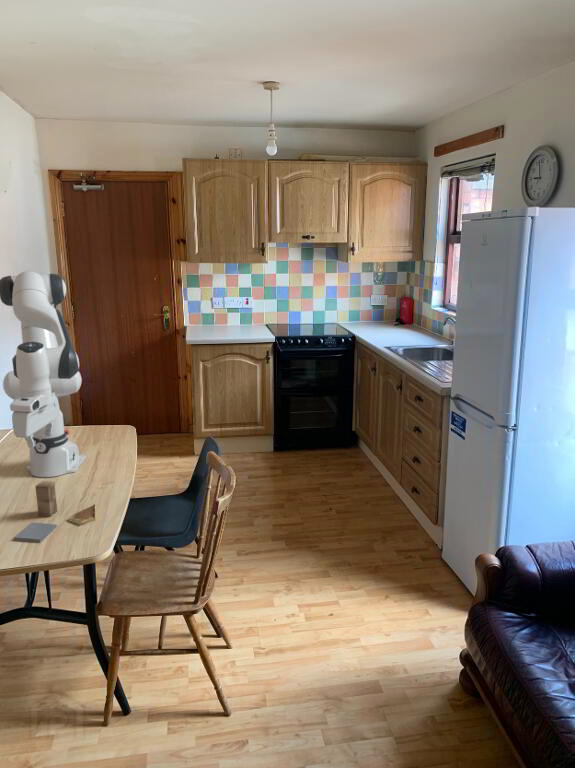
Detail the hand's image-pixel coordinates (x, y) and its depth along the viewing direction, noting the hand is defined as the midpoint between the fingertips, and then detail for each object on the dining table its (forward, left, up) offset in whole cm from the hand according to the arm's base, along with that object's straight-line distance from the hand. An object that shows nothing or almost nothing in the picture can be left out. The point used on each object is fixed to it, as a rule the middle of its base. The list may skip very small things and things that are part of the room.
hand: (40, 441), depth 177 cm
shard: (+1, +12, -25) cm, 27 cm away
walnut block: (0, 0, -24) cm, 24 cm away
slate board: (+8, +3, -24) cm, 25 cm away
